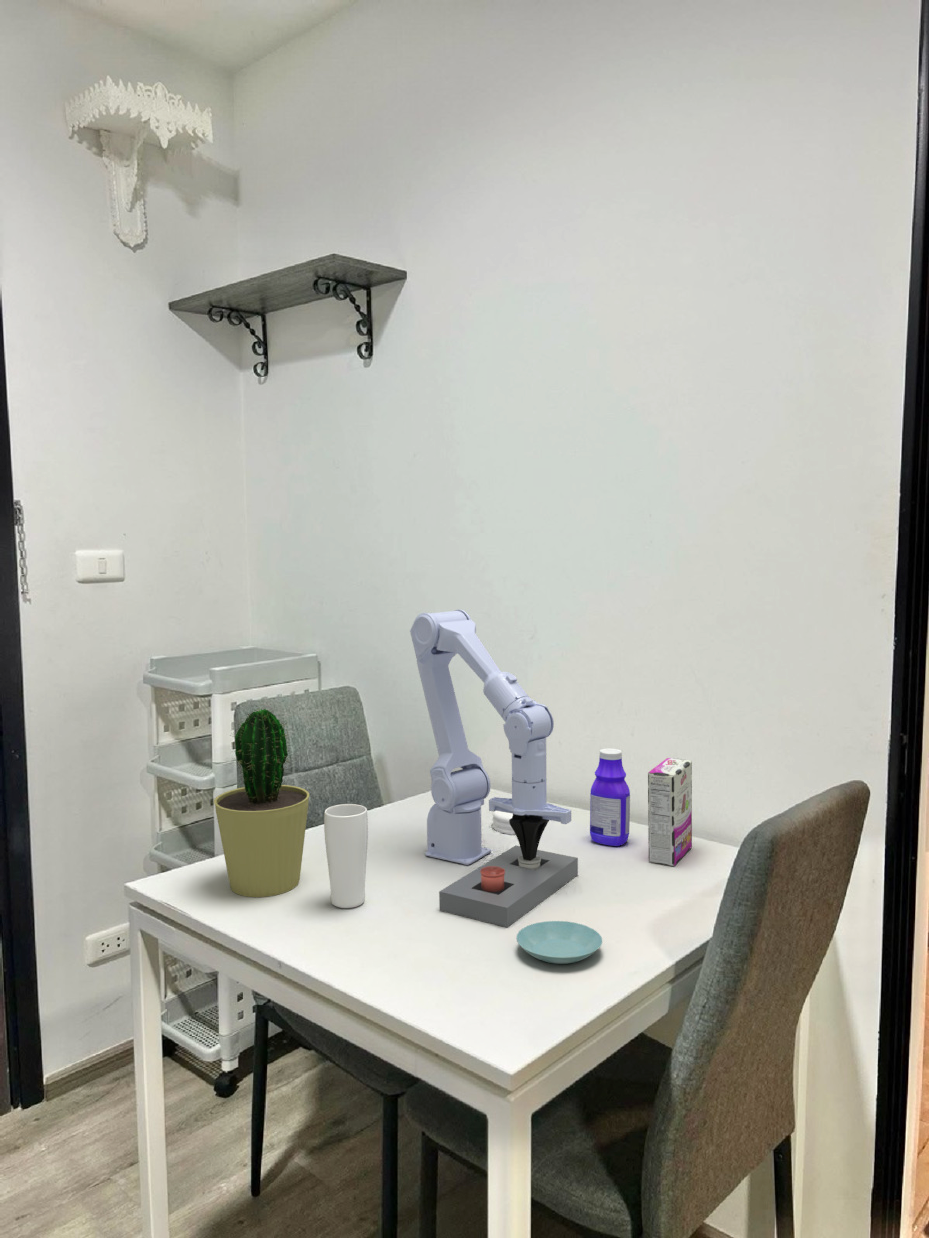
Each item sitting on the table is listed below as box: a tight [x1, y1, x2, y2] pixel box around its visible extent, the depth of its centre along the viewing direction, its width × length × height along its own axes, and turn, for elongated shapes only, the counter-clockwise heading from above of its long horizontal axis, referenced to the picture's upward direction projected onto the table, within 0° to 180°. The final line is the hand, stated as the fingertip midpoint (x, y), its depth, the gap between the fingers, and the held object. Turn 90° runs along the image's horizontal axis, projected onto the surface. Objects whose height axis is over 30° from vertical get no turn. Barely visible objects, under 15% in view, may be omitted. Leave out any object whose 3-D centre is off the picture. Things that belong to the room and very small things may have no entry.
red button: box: [480, 866, 505, 892], centre depth 143 cm, size 4×4×3 cm
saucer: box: [516, 920, 603, 965], centre depth 127 cm, size 12×12×2 cm
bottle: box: [589, 747, 631, 847], centre depth 171 cm, size 7×6×17 cm
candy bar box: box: [647, 757, 693, 867], centre depth 164 cm, size 11×5×16 cm, turn 150°
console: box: [438, 845, 579, 928], centre depth 148 cm, size 24×12×3 cm, turn 148°
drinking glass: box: [323, 803, 369, 909], centre depth 144 cm, size 7×7×15 cm
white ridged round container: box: [491, 811, 516, 836], centre depth 181 cm, size 10×10×4 cm
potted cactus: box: [213, 707, 310, 898], centre depth 152 cm, size 15×15×30 cm
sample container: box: [518, 855, 541, 870], centre depth 153 cm, size 4×4×3 cm
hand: (529, 858), depth 153 cm, fingers closed, pressing on sample container
